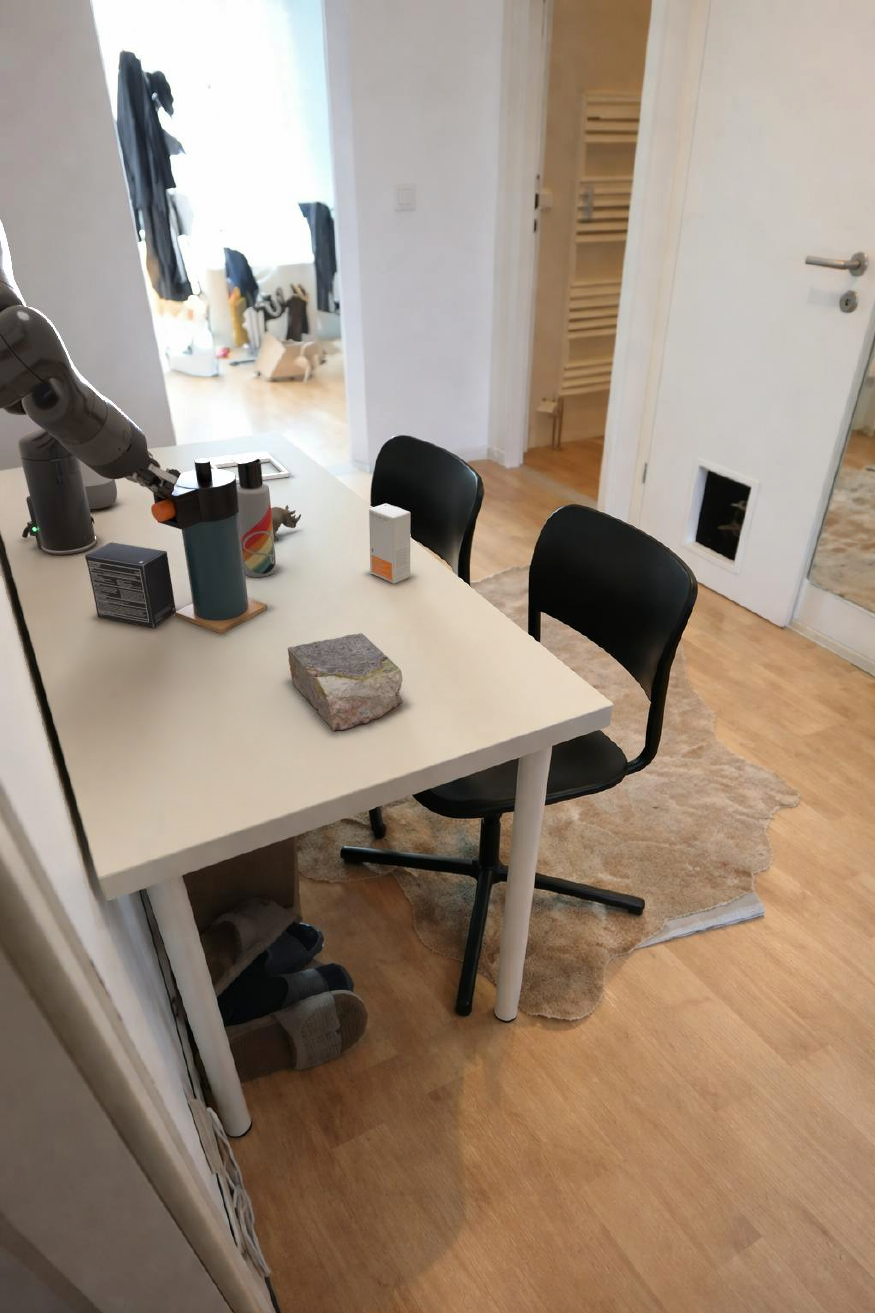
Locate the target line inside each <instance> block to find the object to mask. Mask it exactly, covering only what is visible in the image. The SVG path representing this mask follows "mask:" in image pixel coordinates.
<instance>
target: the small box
mask: <svg viewBox="0 0 875 1313" xmlns="http://www.w3.org/2000/svg"><path fill="white" fill-rule="evenodd" d="M84 558H85V562H86V565H87V569H88V574H89V579H90V585H91V588H92V593H93V598H94V604H95V608H96V614H97V615H96V616H97V618H100V619H104V620H105V619H106V620H110V621H114V622H119V623H120V622H121V623H125V624H132V625H136V626H141V627H147V628H151V629H154V628H156V627H157V626H158V625H160V624H161V623H162V622H164V621H166V620H167V619H168V618H169V617H171V616H173V615H175V612H176V611H177V609H176V602H175V595H174V590H173V582H172V577H171V571H170V564H169V563H170V562H169V557H168V550H163V549H156V548H150V547H149V548H148V547H143V546H137V545H131V544H126V543H125V544H124V543H119V542H109V543H106V544H105V545H102V546H100V547H99V548H97V549H94V550H93V551H90V552H89V553H87V554H85V556H84Z"/></svg>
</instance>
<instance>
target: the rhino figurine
mask: <svg viewBox="0 0 875 1313" xmlns="http://www.w3.org/2000/svg"><path fill="white" fill-rule="evenodd" d="M296 511H297V510H296V509H294V510H290V509H289V505H288V504H287V505H286V506H285V507H284V508H283V507H280V506H273V507H272V506H271V514H272V525H273V536H274V542H276V541H278V540H279V538H278V537H277V536H276V534H277V533H278V531H279V528H281V525H283V526H284V527H286V528H290V529H296V527H297V524H298V522H299V521H300V520H301V517H302V513H300V514H299V515H298V516H297V515H296V514H295V513H296ZM296 516H297V517H296Z"/></svg>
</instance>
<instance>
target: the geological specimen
mask: <svg viewBox="0 0 875 1313" xmlns="http://www.w3.org/2000/svg"><path fill="white" fill-rule="evenodd" d="M287 654H288V665H289V671H290V678H291V682H292V684H293V686H294V687H295V688H297V690H298V691H299V692H300V694H301V695H302V696H303V697H304V698H305V699H306V700H307V701H309V702H310V704H311V706H313V708H314V709H315V710H317V711H318V714H319V715H320V716H321V717H322V718H323V720H324V721H325V722H326V724H327V725H329V727H330V729H332V731H337V730H339V731H343V730H348V729H350V728H351V729H352V728H353V727H355V726H357V725H359V724H368V723H369V722H370V721H371V720H375V719H378V718H381V717H382V716H383V715H384V714H386V713H388V712H389V711H391V710H393V708H394V709H395V708H396V707H398V705H402V704H403V699H402V696H401V695H400V690H402V684H403V674H402V670H401V668H400V667H399V666H398V665H396V663H395V662H393V660H391V659H390V657H388V656H387V655H386V654H384V652H383V651H382V650H381V649H380V648H379V647H378V646H376V645H375V643H374V642H373V641H371V640H370V639H369V638H368V637H367V636H366V635H365V634H363V633H362V632H361V633H354V634H347V635H343V636H341V637H335V638H330V639H325V640H317V641H313V642H309V643H304V644H299V645H294V646H288V647H287Z"/></svg>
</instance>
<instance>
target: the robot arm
mask: <svg viewBox="0 0 875 1313" xmlns="http://www.w3.org/2000/svg"><path fill="white" fill-rule="evenodd" d="M1 409H3V410H4V411H5V412H6V413H9V414H10V415H16V416H28V418H29V419H31V420H32V422H34V423H35V424H36V425H37V426H38V427H39V428H36V429H34V430H31V431H29V432H27V433H25V434H22V435H21V436H20V437H19V438H18V440H17V450H18V453H19V457H20V462H21V466H22V470H23V473H24V478H25V482H26V486H27V490H28V495H27V497H26V499H25V502H26V504H27V510H28V513H29V517H30V520H29V521H28V522H26V525H27V526H26V527H25V528H24V529H23V531H22V535H21V537H22V538H23V539H27V538H28V537H29V536H30V537H34V538H35V541H36V545H37V548H38V549H41V550H42V552H44V553H46V554H49V555H55V556H56V555H57V556H58V555H59V556H61V555H62V556H64V555H66V556H67V555H74V554H78V553H82V552H84V551H88V550H90V549H92V548H93V547H94V546H96V545H97V542H98V541H97V540H98V539H97V537H96V533H95V528H94V524H95V519H94V517H93V516H92V515H91V514H92V513H91V511H90V508H89V503H88V499H87V494H86V489H85V484H84V479H83V474H82V469H81V465H80V461H82V462H83V463H84V464H86V465H87V466H88V467H90V468H91V469H92V470H94V471H95V472H96V473H97V474H99V475H100V476H102V477H105V478H108V479H115V480H120V479H126V480H127V481H129V482H132V483H135V484H138V485H139V486H140V487H142V488H147V489H148V490H149V491H150V492H151V493H152V494H153V493H154V494H155V495H157V496H158V497H161V498H163V499H166V500H167V499H168V498H170V496H171V494H172V492H173V490H174V486H175V485H176V483H177V481H178V479H179V477H180V475H181V474H182V472H180V471H179V470H178V469H175V468H171V469H170V468H168V467H167V468H166V469H165V470H164V469H162V468H161V464H160V463H159V461H157V459H155V458H154V456H153V454H152V453H151V452H150V450H148V441H147V438H146V435H145V433H144V432H143V430H142V429H141V428H140V427H139V426H138V425H137V424H136V423H135V422H134V421H132V420H131V419H130V418H129V416H127V415H126V414H125V412H123V411H122V410H121V409H120V408H119V407H118V406H117V405H116V404H115V403H114V402H112V401H111V400H110V399H108V398H107V397H105V396H104V395H102V393H100V392H99V391H98V390H96V388H95V387H93V385H92V384H90V383H89V382H88V380H86V379H85V378H84V377H83V376H82V375H81V374H80V372H79V371H78V370H77V368H76V367H75V365H74V363H73V361H72V360H71V357H70V355H69V352H68V350H67V348H66V346H65V344H64V341H63V339H62V337H61V336H60V334H59V332H58V330H57V329H56V327H55V326H54V324H53V323H52V321H51V320H50V319H49V318H47V316H46V315H45V314H43V313H42V312H41V311H39V310H38V309H36V308H33V307H31V306H27V304H26V302H25V301H24V298H23V296H22V294H21V292H20V290H19V288H18V285H17V283H16V281H15V278H14V274H13V267H12V260H11V254H10V249H9V246H8V240H7V237H6V232H5V229H4V227H3V223H2V221H1V220H0V410H1ZM28 535H29V536H28Z"/></svg>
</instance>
